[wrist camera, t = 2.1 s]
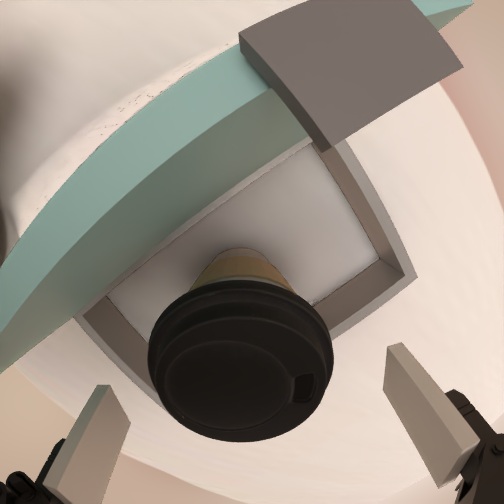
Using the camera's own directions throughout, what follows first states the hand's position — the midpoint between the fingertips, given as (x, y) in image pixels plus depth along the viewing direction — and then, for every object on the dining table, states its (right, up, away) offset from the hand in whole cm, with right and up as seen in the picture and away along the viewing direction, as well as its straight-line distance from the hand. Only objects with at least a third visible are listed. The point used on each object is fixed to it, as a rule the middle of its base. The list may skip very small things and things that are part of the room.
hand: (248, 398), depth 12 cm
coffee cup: (-1, +4, +15) cm, 15 cm away
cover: (-4, +6, 0) cm, 7 cm away
